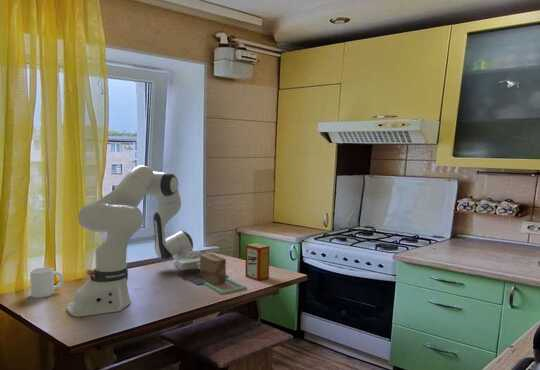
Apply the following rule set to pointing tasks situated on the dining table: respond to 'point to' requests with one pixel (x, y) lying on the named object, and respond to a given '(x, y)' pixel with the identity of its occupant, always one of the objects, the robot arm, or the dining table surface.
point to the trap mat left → (197, 281)
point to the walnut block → (213, 269)
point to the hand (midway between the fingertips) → (205, 266)
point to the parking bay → (240, 287)
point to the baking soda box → (257, 261)
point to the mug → (43, 282)
